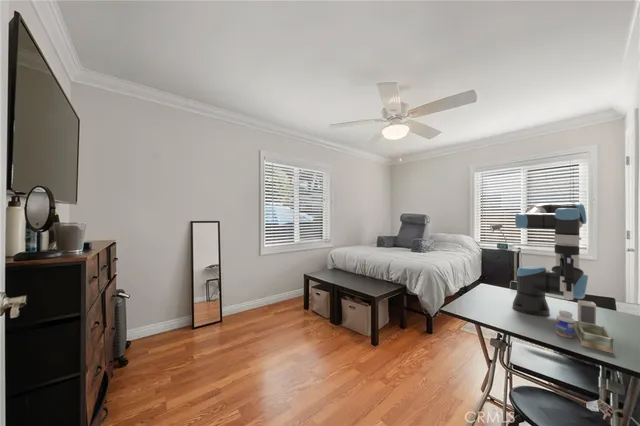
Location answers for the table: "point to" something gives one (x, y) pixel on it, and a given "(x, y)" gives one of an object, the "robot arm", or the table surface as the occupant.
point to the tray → (594, 336)
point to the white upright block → (587, 312)
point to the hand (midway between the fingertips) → (566, 295)
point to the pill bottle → (565, 324)
